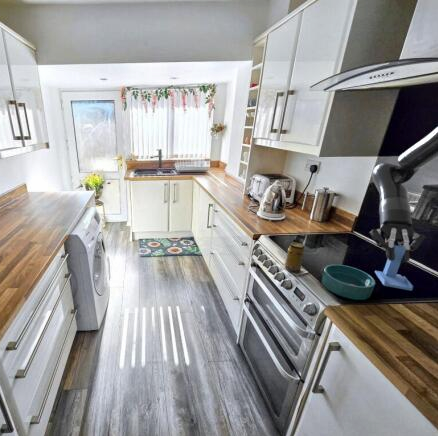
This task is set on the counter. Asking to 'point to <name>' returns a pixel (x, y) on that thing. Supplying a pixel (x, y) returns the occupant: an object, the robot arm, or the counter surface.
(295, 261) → the condiment
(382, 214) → the robot arm
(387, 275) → the blue base with post
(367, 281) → the teal ribbed bowl
